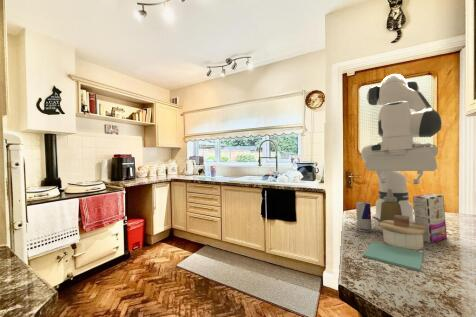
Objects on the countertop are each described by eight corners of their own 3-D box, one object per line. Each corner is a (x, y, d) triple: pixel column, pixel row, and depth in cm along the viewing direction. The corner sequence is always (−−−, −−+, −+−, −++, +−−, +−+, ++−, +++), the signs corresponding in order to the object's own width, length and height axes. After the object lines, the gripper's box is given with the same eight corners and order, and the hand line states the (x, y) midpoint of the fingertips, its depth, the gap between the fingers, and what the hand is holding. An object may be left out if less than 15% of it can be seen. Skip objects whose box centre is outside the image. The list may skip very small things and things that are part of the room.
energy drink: (374, 232, 86) (372, 203, 86) (360, 232, 87) (358, 203, 87) (368, 228, 91) (367, 201, 91) (355, 228, 92) (354, 201, 92)
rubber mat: (373, 243, 74) (373, 241, 74) (423, 254, 65) (423, 252, 65) (363, 256, 65) (362, 254, 65) (420, 271, 55) (420, 269, 55)
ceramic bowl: (387, 236, 81) (386, 222, 81) (424, 243, 73) (423, 227, 73) (381, 244, 73) (380, 229, 73) (422, 253, 66) (421, 236, 66)
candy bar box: (430, 234, 81) (428, 193, 82) (447, 238, 77) (444, 194, 77) (414, 239, 77) (412, 195, 77) (431, 244, 72) (428, 197, 73)
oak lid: (383, 221, 83) (383, 210, 83) (427, 227, 73) (426, 215, 74) (376, 229, 73) (375, 217, 74) (425, 237, 64) (424, 224, 64)
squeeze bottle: (402, 236, 80) (399, 190, 81) (377, 231, 86) (375, 189, 87) (406, 231, 86) (403, 188, 86) (383, 227, 92) (381, 187, 92)
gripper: (437, 143, 69) (439, 184, 69) (367, 148, 84) (369, 181, 83) (436, 142, 65) (439, 185, 64) (363, 147, 79) (365, 183, 79)
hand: (399, 183), depth 74 cm, fingers open, 8 cm apart
